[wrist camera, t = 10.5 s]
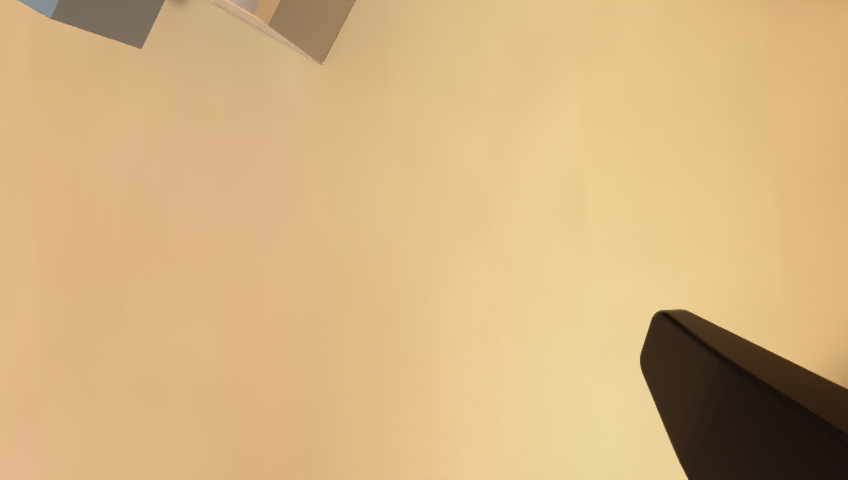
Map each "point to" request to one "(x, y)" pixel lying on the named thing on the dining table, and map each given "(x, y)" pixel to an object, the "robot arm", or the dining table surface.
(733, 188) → the dining table surface
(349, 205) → the dining table surface
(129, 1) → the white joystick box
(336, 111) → the dining table surface
